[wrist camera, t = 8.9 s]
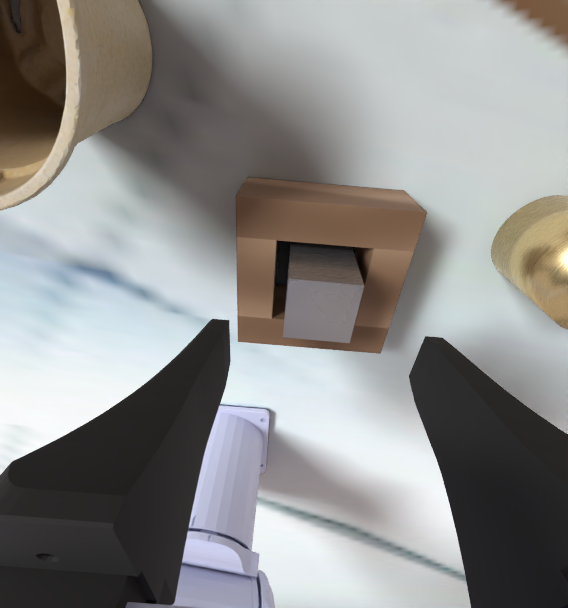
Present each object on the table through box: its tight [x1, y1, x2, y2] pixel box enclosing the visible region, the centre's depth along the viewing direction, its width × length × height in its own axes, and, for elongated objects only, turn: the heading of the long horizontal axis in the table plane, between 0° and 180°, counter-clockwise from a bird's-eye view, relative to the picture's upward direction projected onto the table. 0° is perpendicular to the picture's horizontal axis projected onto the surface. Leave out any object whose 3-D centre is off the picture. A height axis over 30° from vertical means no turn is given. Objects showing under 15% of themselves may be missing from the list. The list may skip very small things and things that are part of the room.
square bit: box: [283, 242, 364, 343], centre depth 16 cm, size 3×3×6 cm
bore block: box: [236, 177, 427, 353], centre depth 17 cm, size 8×8×4 cm
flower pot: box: [0, 0, 152, 210], centre depth 10 cm, size 9×9×9 cm
